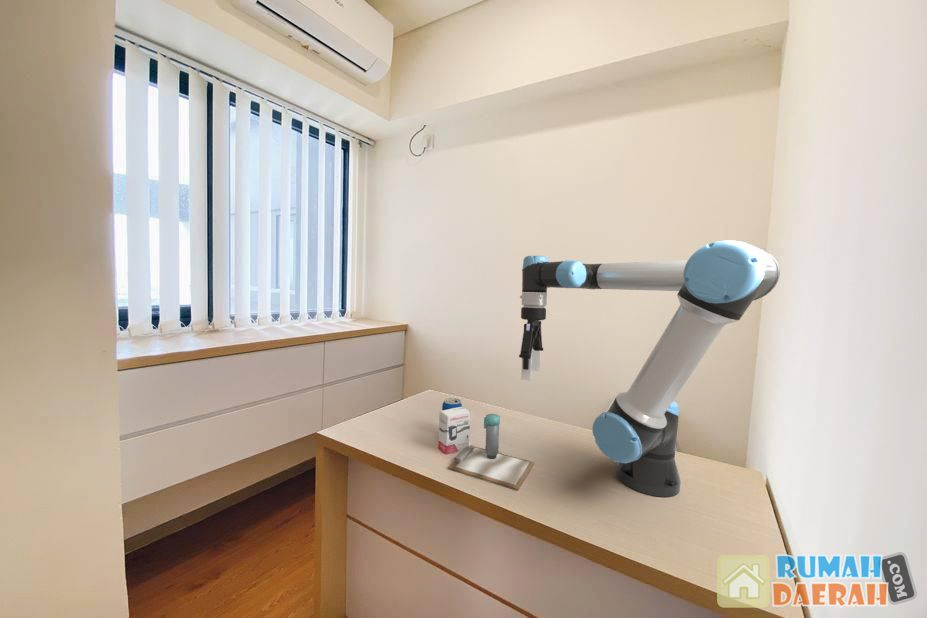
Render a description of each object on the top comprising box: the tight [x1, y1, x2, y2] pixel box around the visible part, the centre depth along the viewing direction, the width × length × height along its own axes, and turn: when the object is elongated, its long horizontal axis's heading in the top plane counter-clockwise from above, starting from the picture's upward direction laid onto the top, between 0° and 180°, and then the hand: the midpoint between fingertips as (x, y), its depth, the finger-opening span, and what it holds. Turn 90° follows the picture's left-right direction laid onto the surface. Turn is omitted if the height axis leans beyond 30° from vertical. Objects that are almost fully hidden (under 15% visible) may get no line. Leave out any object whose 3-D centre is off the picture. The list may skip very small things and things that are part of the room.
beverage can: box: [441, 397, 463, 411], centre depth 116 cm, size 6×6×12 cm
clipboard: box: [447, 444, 535, 492], centre depth 98 cm, size 20×15×2 cm
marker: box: [483, 413, 501, 459], centre depth 102 cm, size 4×4×12 cm
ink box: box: [438, 406, 471, 455], centre depth 108 cm, size 8×5×12 cm, turn 124°
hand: (531, 375), depth 109 cm, fingers open, 13 cm apart
